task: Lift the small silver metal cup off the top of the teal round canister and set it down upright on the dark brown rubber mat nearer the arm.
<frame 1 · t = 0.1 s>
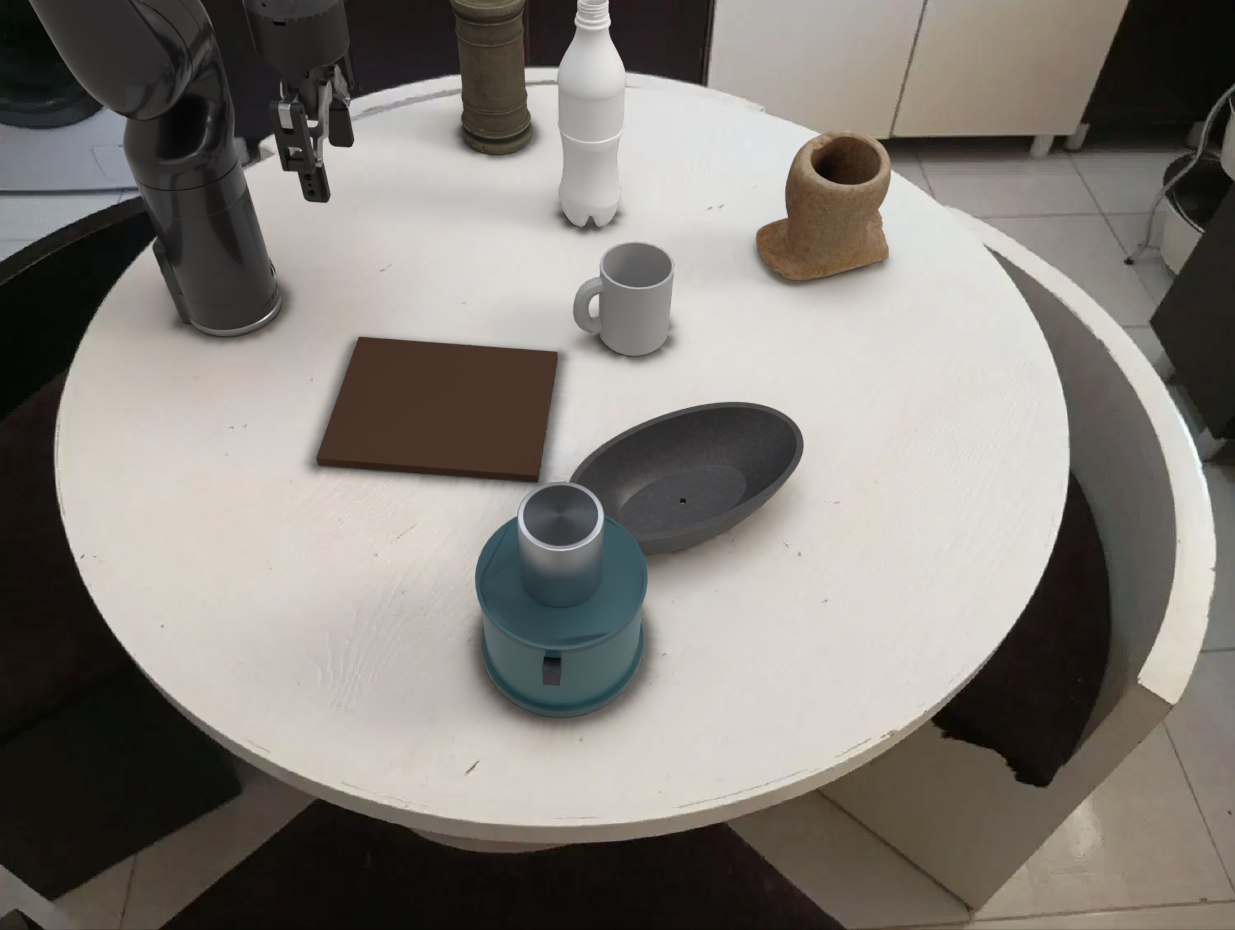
hand: (330, 172, 89), 17 cm above the table, tool pointing down, fingers open, 8 cm apart
stone cup: (825, 260, 111), on the table
teal round canister: (562, 642, 79), on the table
mat: (444, 409, 95), on the table
silver cup: (561, 573, 71), point 10 cm above the table, touching teal round canister
water bottle: (589, 216, 115), on the table
container: (497, 136, 125), on the table
cup: (620, 337, 102), on the table
bowl: (681, 512, 88), on the table
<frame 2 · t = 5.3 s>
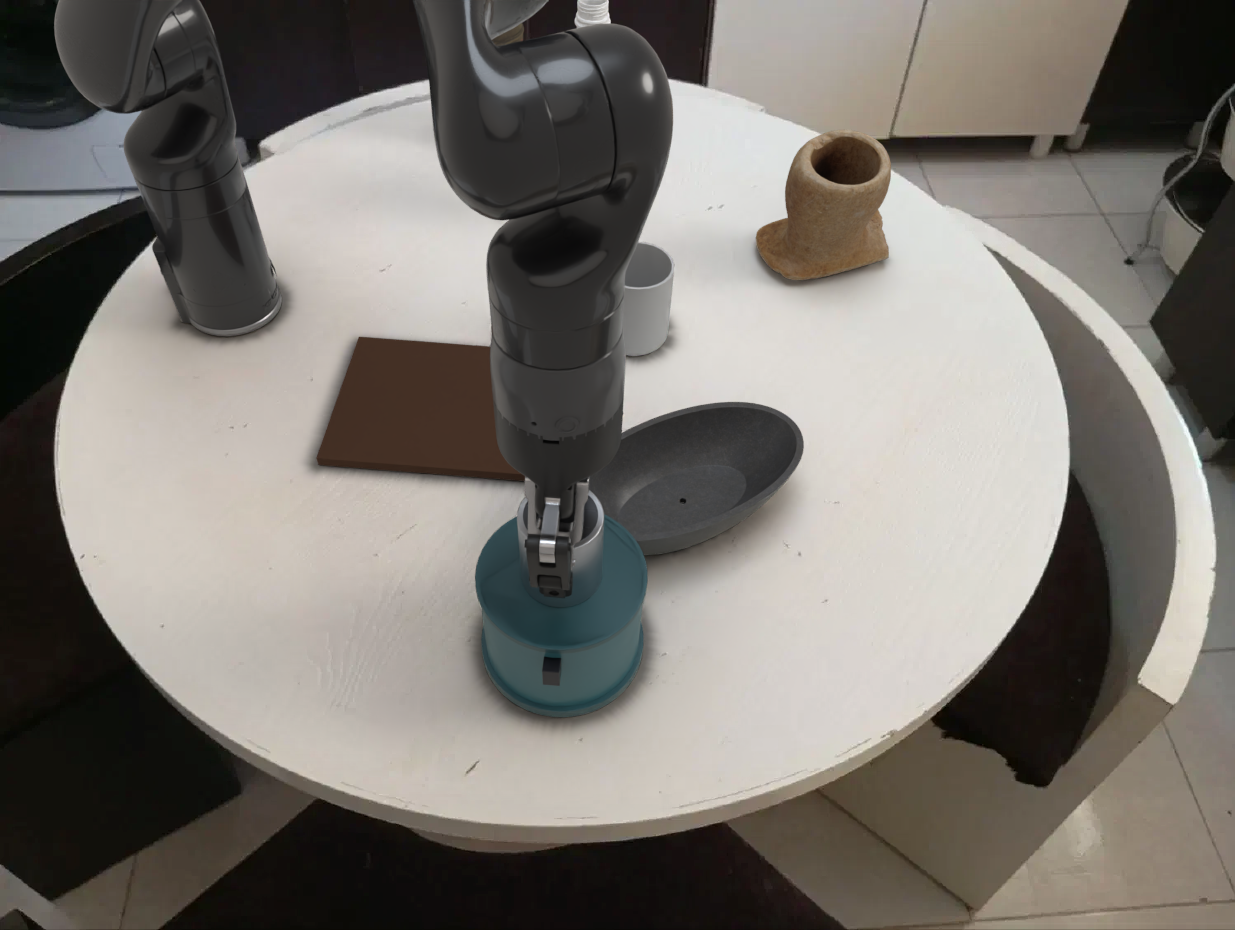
hand: (561, 552, 69), 13 cm above the table, tool pointing down, fingers closed on silver cup, 6 cm apart
silver cup: (561, 573, 71), point 10 cm above the table, touching teal round canister, gripper
everything else where it was.
when the fingers open (4 cm above the table, at t = 13.0 s): silver cup stays where it is, resting on mat.
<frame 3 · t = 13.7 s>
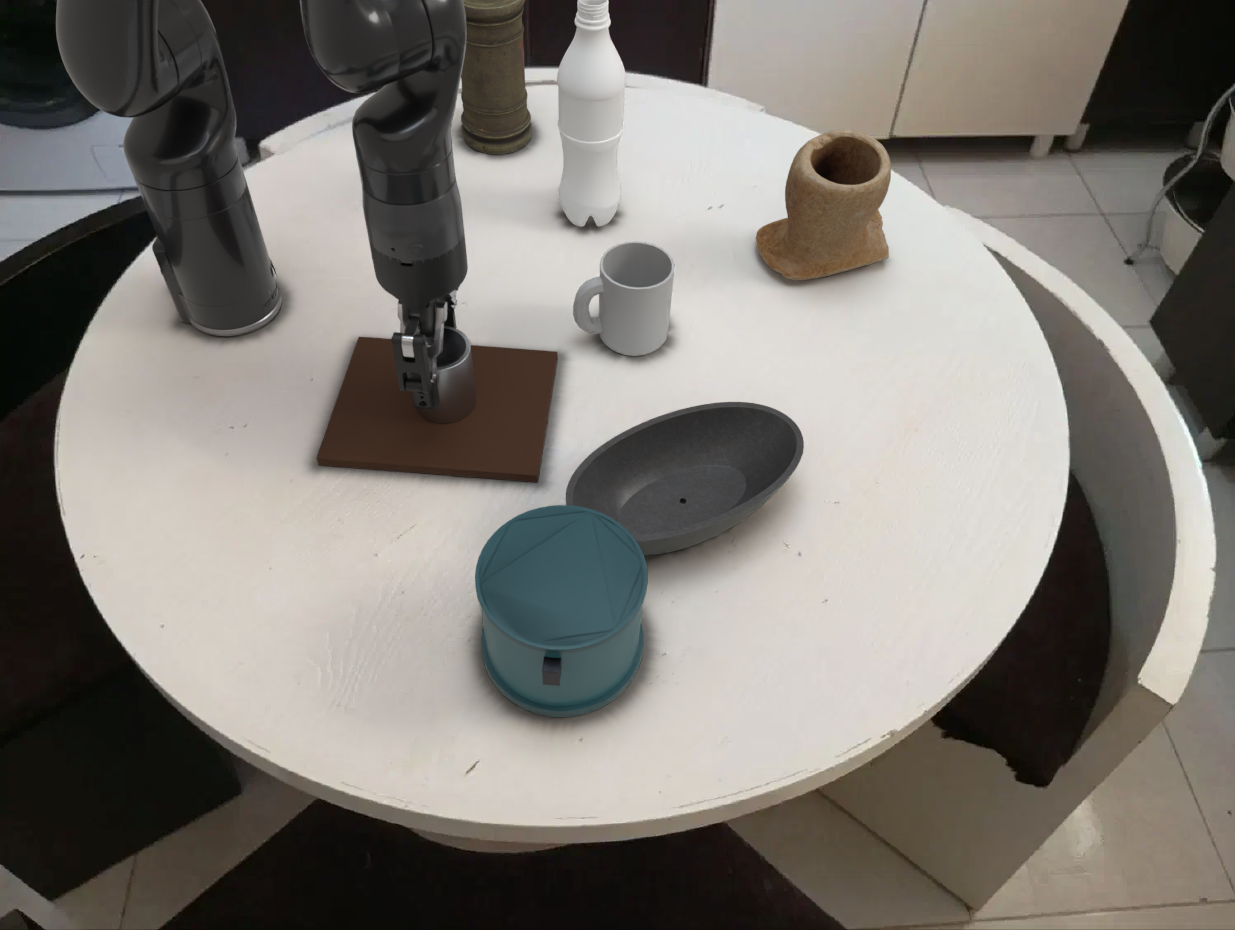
hand: (436, 372, 91), 5 cm above the table, tool pointing down, fingers open, 8 cm apart
silver cup: (445, 401, 94), point 1 cm above the table, touching mat
everything else where it was.
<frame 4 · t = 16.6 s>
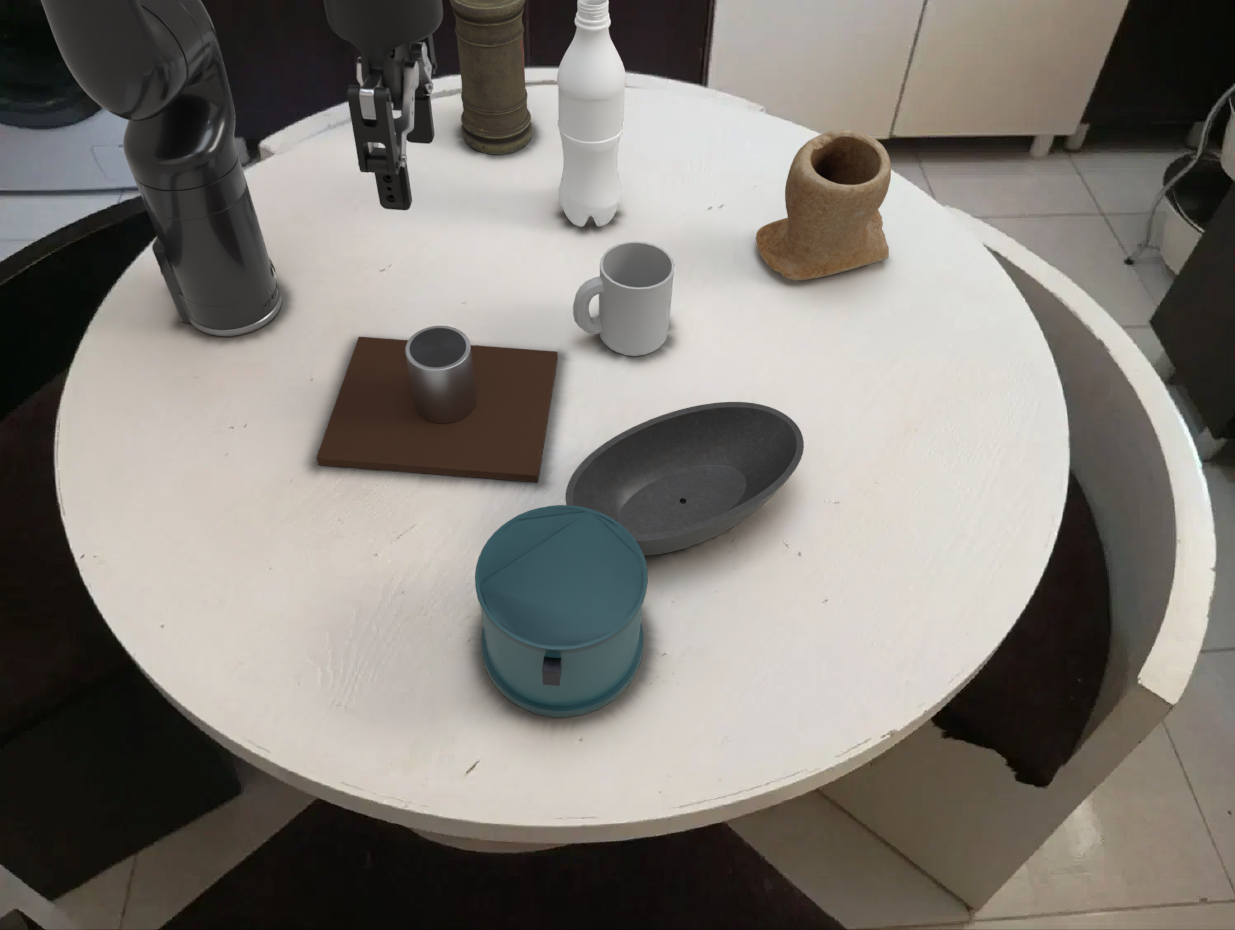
hand: (409, 172, 74), 26 cm above the table, tool pointing down, fingers open, 8 cm apart
nothing on the table moved.
at the end: silver cup inside the target area on the mat (0.2 cm from its centre), point 1.0 cm above the mat's base; silver cup tilted 0°; silver cup touching mat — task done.
